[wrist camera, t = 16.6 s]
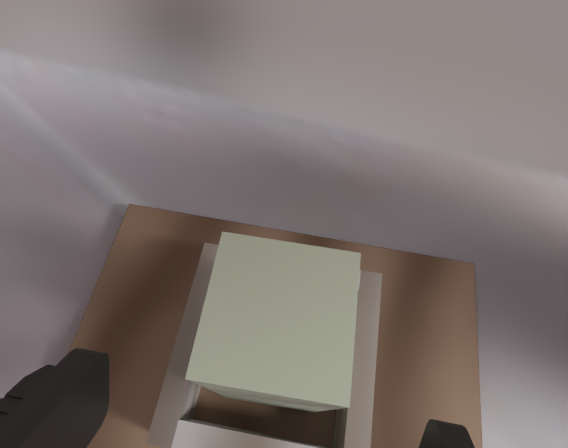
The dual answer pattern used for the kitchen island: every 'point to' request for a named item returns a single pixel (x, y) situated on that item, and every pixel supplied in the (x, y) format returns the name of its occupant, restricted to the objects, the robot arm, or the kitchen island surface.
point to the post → (278, 324)
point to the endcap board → (260, 417)
